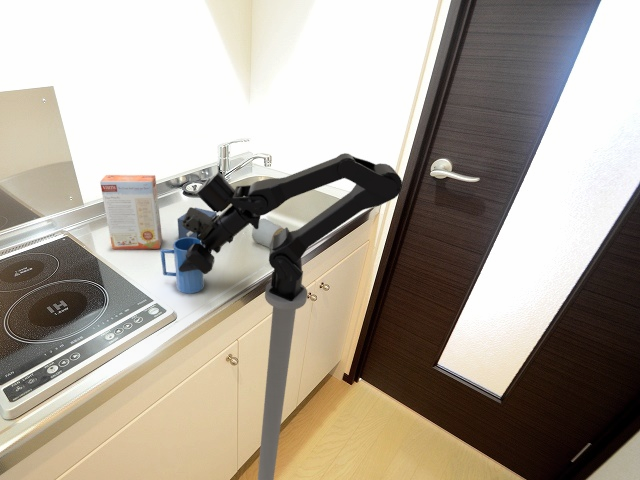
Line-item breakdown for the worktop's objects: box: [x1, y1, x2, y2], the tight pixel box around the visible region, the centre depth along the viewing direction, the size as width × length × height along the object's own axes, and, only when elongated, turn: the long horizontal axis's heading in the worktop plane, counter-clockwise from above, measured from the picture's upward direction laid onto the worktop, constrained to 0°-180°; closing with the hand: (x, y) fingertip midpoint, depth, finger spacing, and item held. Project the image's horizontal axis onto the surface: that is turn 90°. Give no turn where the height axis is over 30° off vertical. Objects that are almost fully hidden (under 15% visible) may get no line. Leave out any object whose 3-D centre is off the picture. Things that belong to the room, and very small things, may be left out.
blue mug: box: [160, 237, 205, 294], centre depth 90 cm, size 10×7×12 cm, turn 84°
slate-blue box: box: [177, 207, 218, 239], centre depth 112 cm, size 15×8×7 cm, turn 154°
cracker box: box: [99, 174, 163, 250], centre depth 105 cm, size 14×6×21 cm, turn 92°
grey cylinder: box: [251, 217, 285, 249], centre depth 111 cm, size 11×8×8 cm
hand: (183, 262), depth 89 cm, fingers closed on blue mug, 7 cm apart
